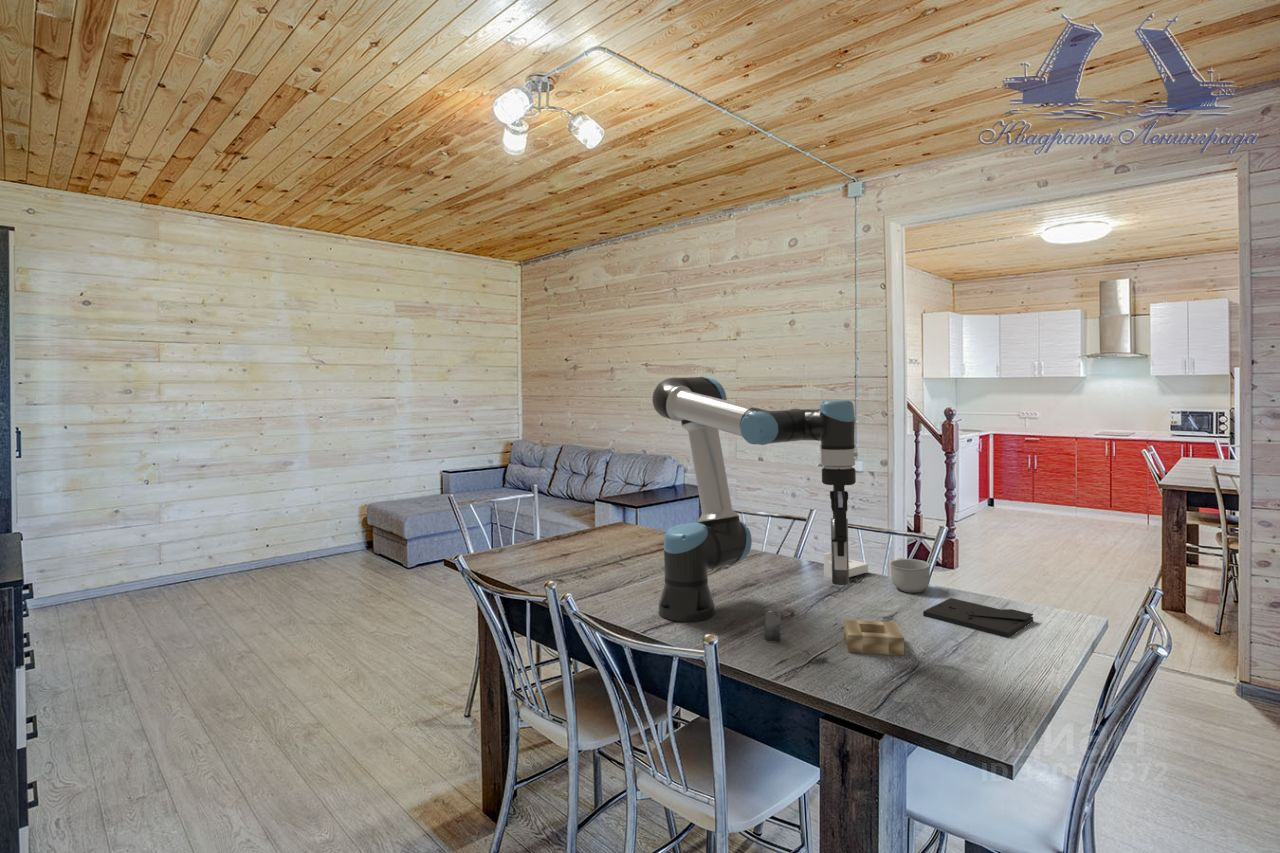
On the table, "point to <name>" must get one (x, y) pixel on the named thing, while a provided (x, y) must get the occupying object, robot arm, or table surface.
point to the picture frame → (980, 617)
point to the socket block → (873, 637)
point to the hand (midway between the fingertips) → (840, 566)
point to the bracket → (854, 566)
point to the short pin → (772, 624)
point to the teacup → (910, 574)
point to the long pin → (837, 575)
